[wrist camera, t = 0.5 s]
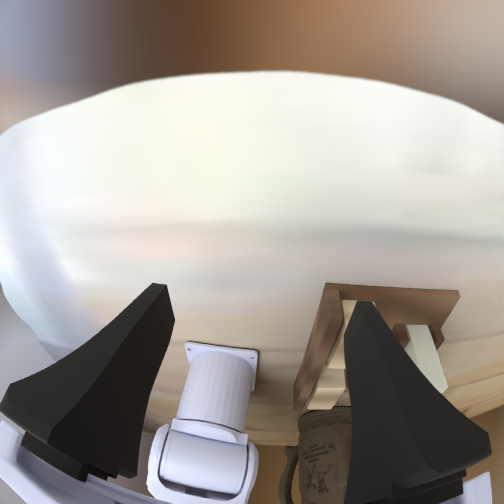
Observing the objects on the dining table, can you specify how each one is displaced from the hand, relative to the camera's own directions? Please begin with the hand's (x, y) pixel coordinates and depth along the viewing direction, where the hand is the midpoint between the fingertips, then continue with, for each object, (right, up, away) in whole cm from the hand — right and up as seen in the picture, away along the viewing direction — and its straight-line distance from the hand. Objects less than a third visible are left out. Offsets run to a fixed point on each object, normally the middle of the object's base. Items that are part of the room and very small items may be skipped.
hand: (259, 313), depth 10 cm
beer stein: (+12, -26, +29) cm, 41 cm away
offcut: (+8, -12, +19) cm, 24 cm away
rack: (+12, -8, +17) cm, 22 cm away
